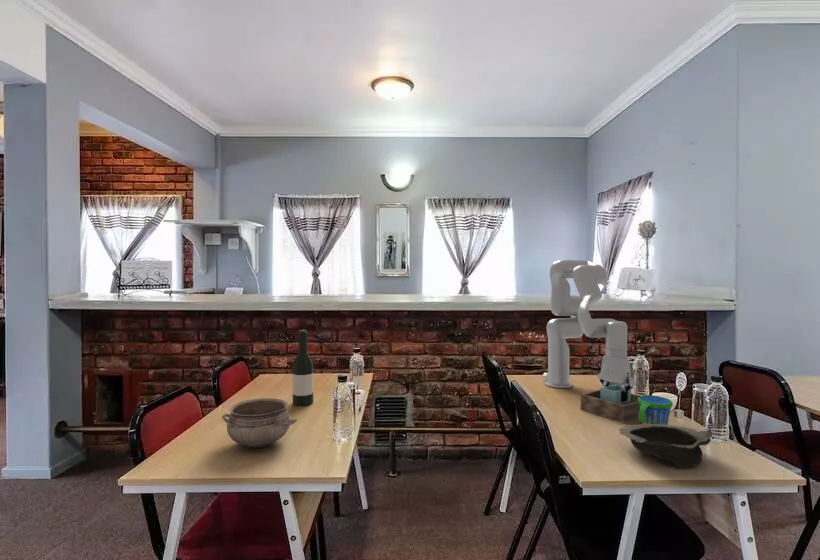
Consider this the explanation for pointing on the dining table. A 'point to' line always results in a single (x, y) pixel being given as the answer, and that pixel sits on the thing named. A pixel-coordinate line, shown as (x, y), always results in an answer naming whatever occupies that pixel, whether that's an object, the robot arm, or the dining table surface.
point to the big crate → (610, 407)
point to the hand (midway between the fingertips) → (615, 398)
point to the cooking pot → (258, 422)
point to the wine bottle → (302, 374)
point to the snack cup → (654, 409)
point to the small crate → (614, 394)
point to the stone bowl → (669, 442)
